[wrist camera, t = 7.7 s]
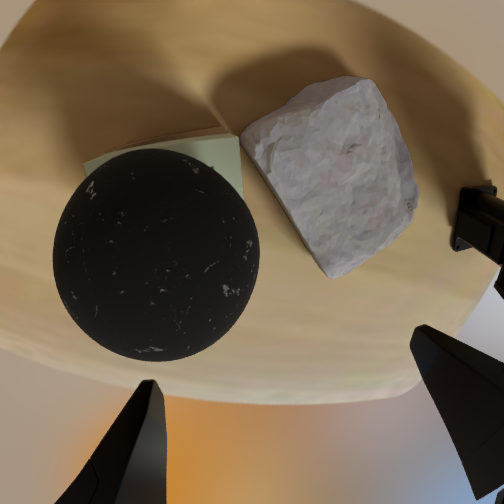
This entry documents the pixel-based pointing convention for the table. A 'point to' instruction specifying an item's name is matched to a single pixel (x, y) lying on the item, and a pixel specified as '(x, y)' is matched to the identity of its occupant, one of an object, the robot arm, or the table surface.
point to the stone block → (337, 170)
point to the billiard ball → (155, 255)
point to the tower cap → (195, 155)
